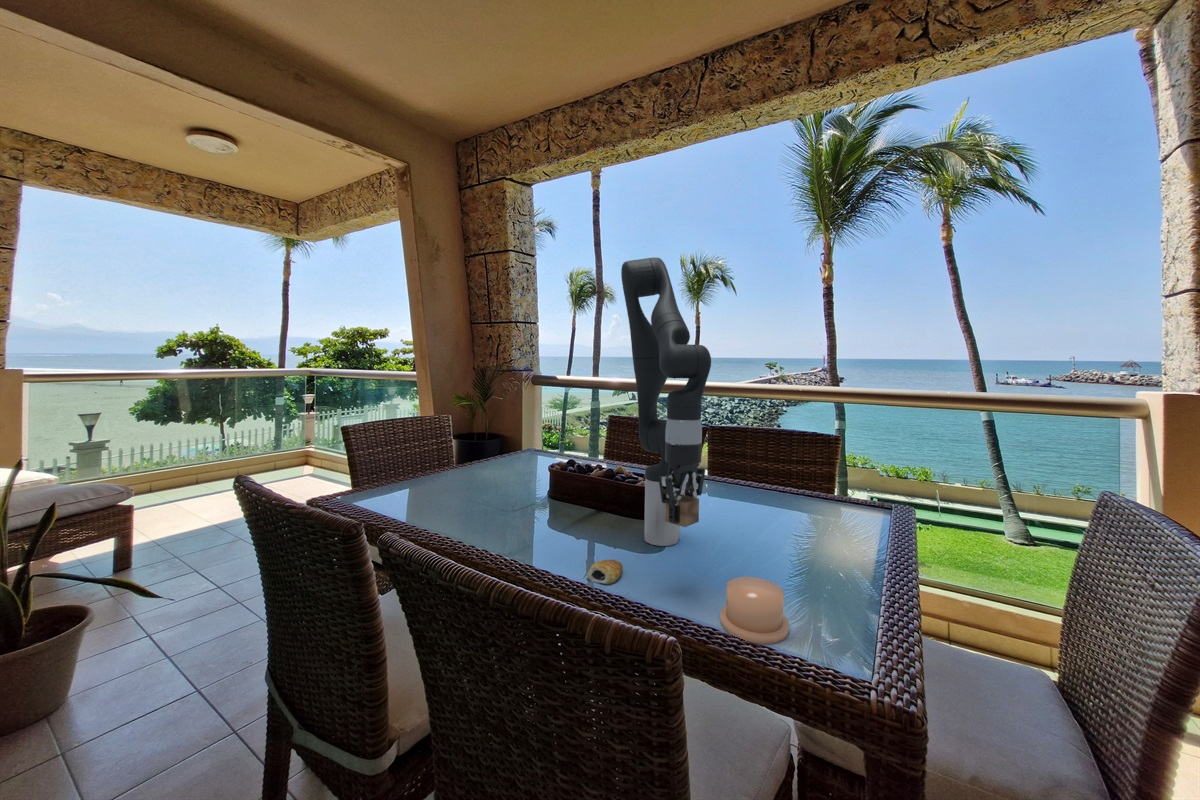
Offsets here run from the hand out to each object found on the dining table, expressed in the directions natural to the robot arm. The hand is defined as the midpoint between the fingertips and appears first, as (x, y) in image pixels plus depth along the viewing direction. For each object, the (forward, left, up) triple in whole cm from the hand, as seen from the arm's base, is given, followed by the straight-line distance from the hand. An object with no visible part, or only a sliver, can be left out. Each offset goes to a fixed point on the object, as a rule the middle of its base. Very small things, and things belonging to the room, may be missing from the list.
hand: (681, 519), depth 100 cm
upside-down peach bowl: (+2, +18, -15) cm, 24 cm away
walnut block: (0, 0, 0) cm, 0 cm away
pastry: (+7, -16, -16) cm, 23 cm away
